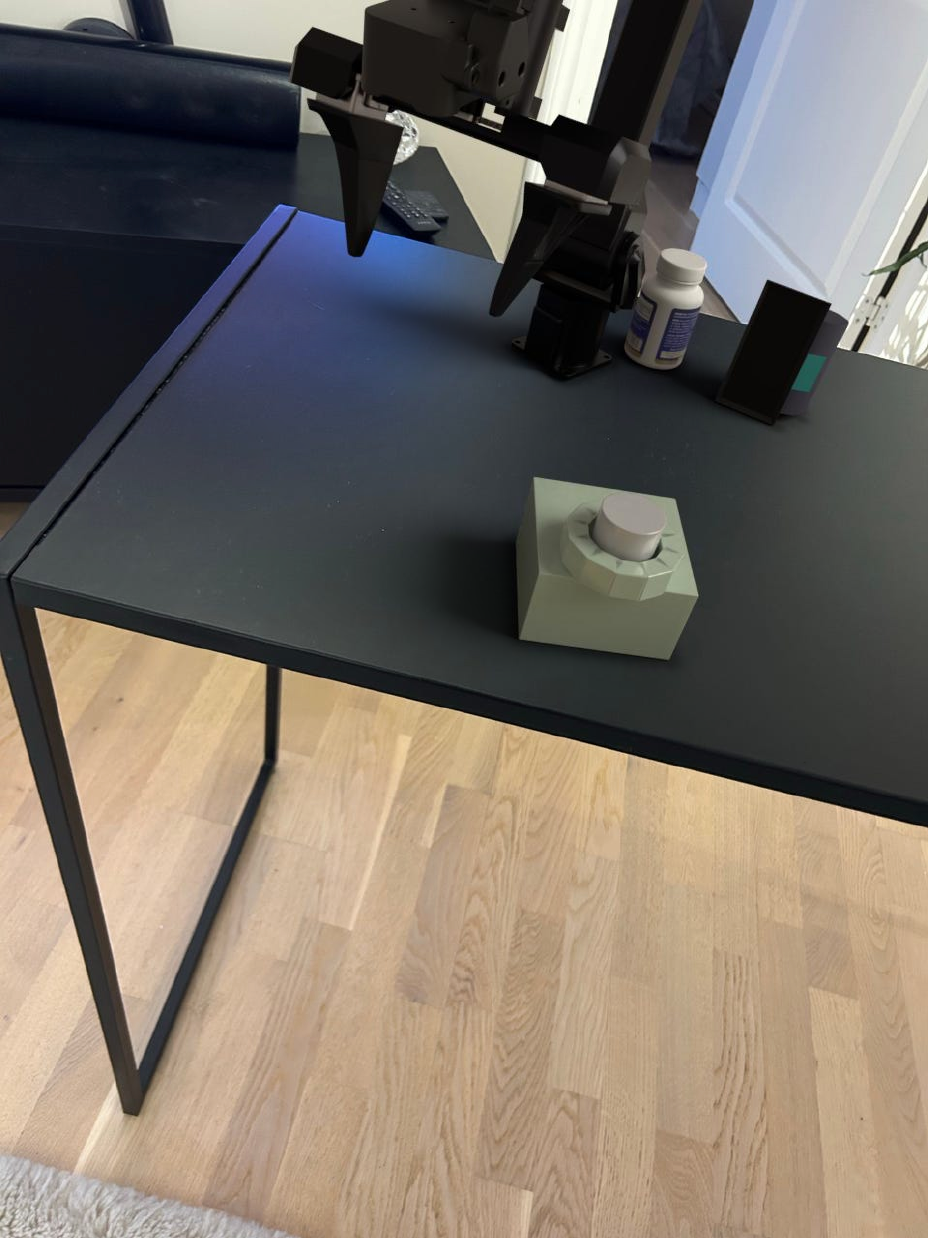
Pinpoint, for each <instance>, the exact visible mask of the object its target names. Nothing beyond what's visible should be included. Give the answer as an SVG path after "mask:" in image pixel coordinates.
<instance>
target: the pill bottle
mask: <svg viewBox="0 0 928 1238" xmlns="http://www.w3.org/2000/svg"><path fill="white" fill-rule="evenodd" d="M707 267H708V263H707V261H706V259H705V258H703V257H702V256H700V255H699V254H697V253H695V252H692V251H690V250H687V249H682V248H674V247H671V248H670V247H669V248H665V249H662V250H661V251H660V253H659V256H658V259H657V262H656V266H655V271H656V273H652V274H650V275H648V276H647V278H646V279H644V281H643V282H642V286H641V288H640V291H639V294H638V297H637V301H636V304H635V307H634V311H633V315H632V319H631V322H630V325H629V328H628V332H627V335H626V338H625V341H624V346H623V347H624V348H623V349H624V351H625V353H626V355H627V356H628V357H629V358H630V359H631V360H632V361H634V362H635V363H638V364H639V365H642V366H644V367H647V368H650V369H655V370H664V371H665V370H672V369H674V368H677V367H679V366H680V365H681V364H682V361H683V359H684V356H685V354H686V351H687V348H688V345H689V342H690V339H691V337H692V333H693V331H694V329H695V325H696V323H697V320H698V317H699V314H700V311H701V309H702V306H703V303H704V298H705V295H704V291H703V289H702V287H701V286H700V285H699V284H701V283H702V282H703V279H704V276H705V273H706V270H707Z"/></svg>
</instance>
